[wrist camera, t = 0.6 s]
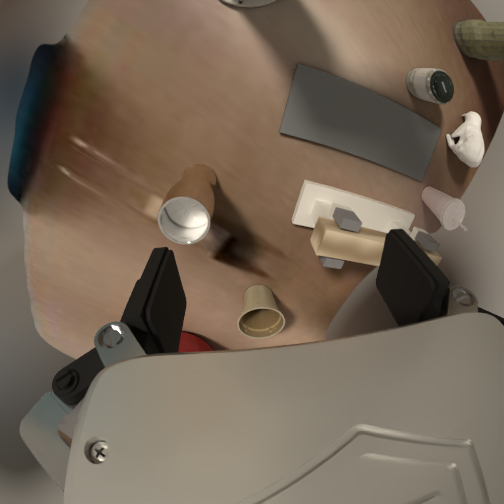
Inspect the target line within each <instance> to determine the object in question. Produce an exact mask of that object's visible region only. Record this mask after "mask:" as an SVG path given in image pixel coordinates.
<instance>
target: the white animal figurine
mask: <svg viewBox="0 0 504 504" xmlns="http://www.w3.org/2000/svg"><path fill="white" fill-rule="evenodd" d="M461 116H463V117H465V119H464V120H465V122H464V123H463V124H462V125H461V126H459V127H458V128H457V129H456V131H454V133H453V134H452V137H454V138H455V137H458V136H460V140H459V142H458V143H457V144H456V145H455V143H454V139H453V138H452V137H451V136H450V135H449V134H447V135H446V138H447V142H448V145H449V147H450V148H451V149H452V151H453V152H454V153H455V154H456V155H457V157H458V158H459V159H460V160H461V161H462V162H464V163H466V164H467V165H468V166H470V167H478V166H479V164H480V163H481V161H482V158H483V154H484V141H483V138H482V133H481V129H480V127H481V118H480V116H479V115H478V114H477V113H476V112H472V111H471V112H469V113H467V114H465V113H464V115H461Z"/></svg>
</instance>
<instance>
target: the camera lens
mask: <svg viewBox="0 0 504 504" xmlns="http://www.w3.org/2000/svg"><path fill="white" fill-rule="evenodd" d="M406 84H407V88H408V90H409V91H410V93H411V94H412V95H413V96H415V97H417V98H419V99H421V100H424V101H429V102H434V103H438V104H447V103H448V102H449V101H450V100H451V99H452V97H453V93H454V87H453V83H452V80H451V78H450V77H449V75H448V74H447V73H446V72H444V71H443V70H441V69H432V68H417V69H414V70H411V71H410V72H409V73H408V74H407V77H406Z"/></svg>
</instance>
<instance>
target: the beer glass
mask: <svg viewBox="0 0 504 504" xmlns="http://www.w3.org/2000/svg"><path fill="white" fill-rule="evenodd" d="M216 184H217V178H216V175H215V173H214V171H213V170H212V169H211V168H210V167H208V166H206V165H203V164H194V165H191V166H189V167H188V168H187V169H186V170H185V171H184V172H183V174H182V177H181V180H180V181H179V182H177V183H176V184H175V185H174V186H173V187H172V188H171V189H170V190H169V192H168V193H167V195H166V197H165V199H164V201H163V203H162V206H161V208H160V210H159V213H158V225H159V228H160V230H161V232H162V233H163V234H164V235H165V236H166V237H167V238H168V239H169V240H171V241H173V242H175V243H178V244H184V245H188V244H194V243H196V242H199V241H200V240H202V239H203V238H204V237H205V236H206V235H207V233H208V231H209V229H210V225H211V222H212V219H213V215H214V210H215V198H214V193H213V191H214V190H215V187H216Z"/></svg>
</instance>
